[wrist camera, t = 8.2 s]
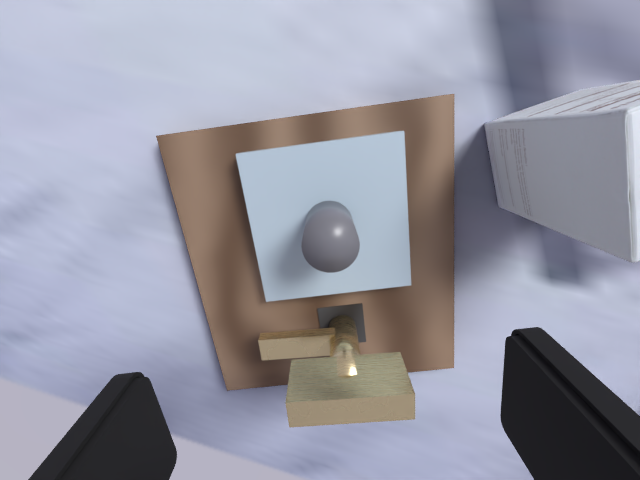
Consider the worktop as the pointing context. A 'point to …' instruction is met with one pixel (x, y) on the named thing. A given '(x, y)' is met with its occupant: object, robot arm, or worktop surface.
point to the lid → (329, 215)
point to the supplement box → (574, 166)
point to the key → (339, 377)
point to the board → (317, 312)
